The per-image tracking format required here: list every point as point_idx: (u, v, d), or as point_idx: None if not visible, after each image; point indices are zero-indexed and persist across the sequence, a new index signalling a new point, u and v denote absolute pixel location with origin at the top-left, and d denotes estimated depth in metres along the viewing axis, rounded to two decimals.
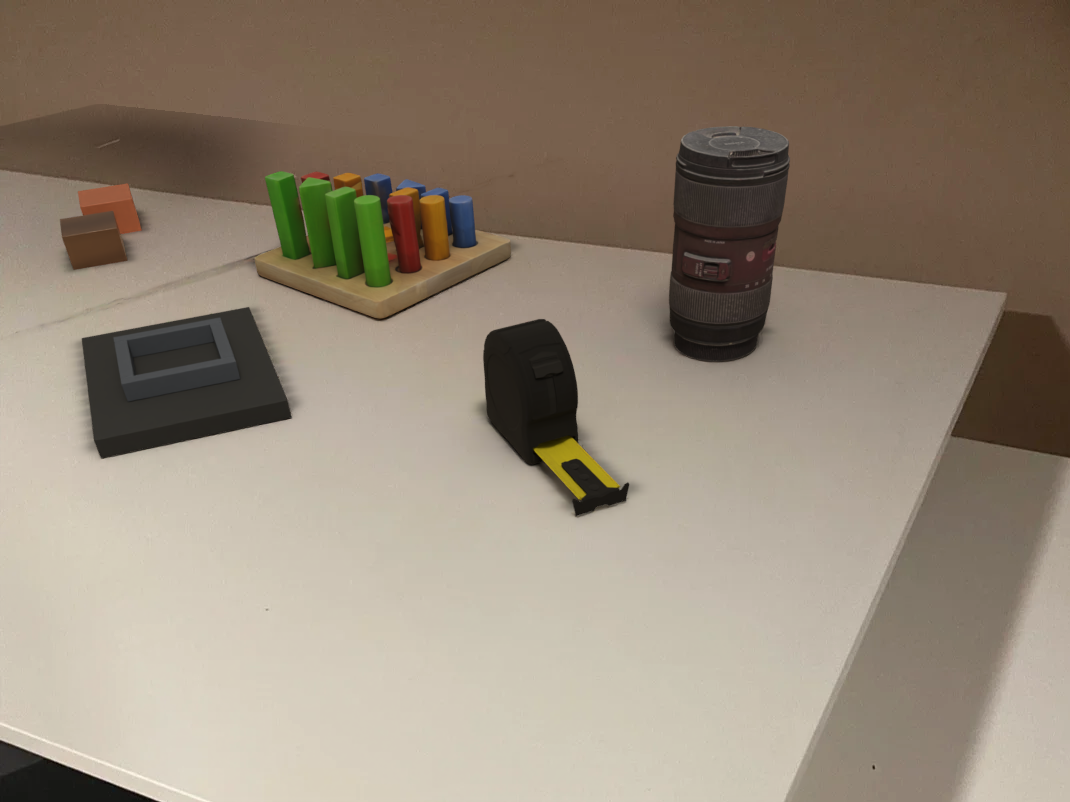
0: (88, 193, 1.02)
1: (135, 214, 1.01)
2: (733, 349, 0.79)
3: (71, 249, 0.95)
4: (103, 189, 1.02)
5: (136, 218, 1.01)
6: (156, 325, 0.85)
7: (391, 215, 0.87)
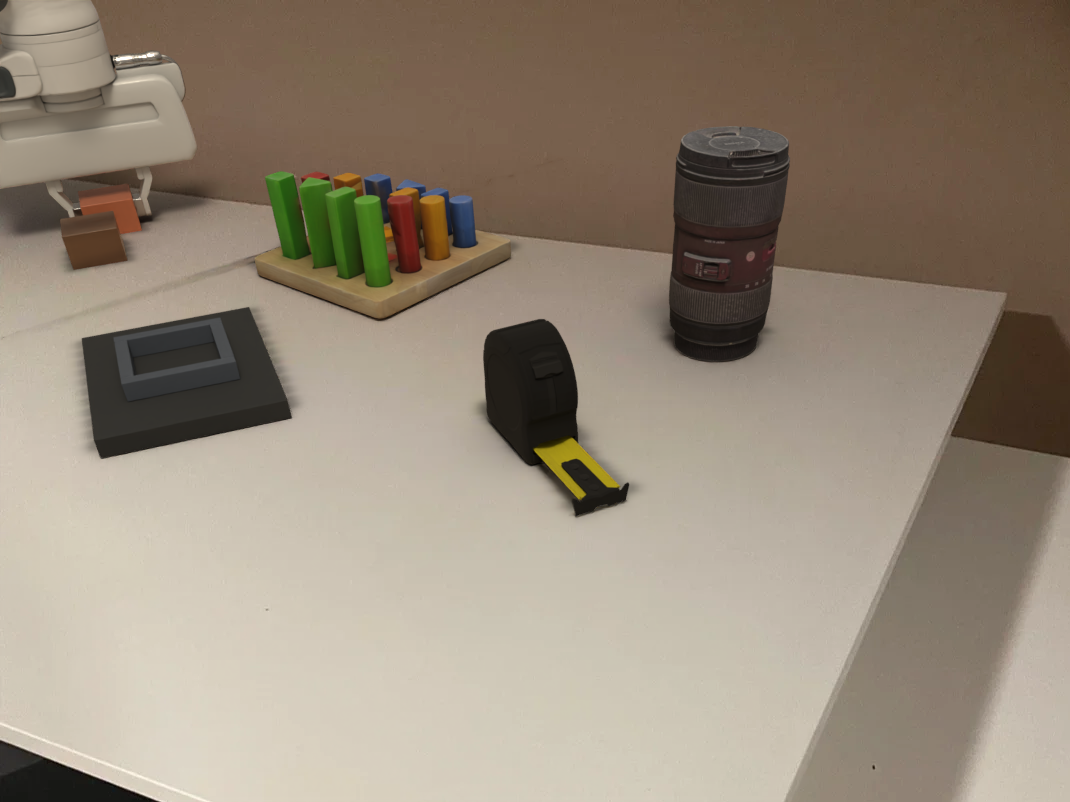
0: (88, 193, 1.02)
1: (135, 214, 1.01)
2: (733, 349, 0.79)
3: (71, 249, 0.95)
4: (103, 189, 1.02)
5: (136, 218, 1.01)
6: (156, 325, 0.85)
7: (391, 215, 0.87)
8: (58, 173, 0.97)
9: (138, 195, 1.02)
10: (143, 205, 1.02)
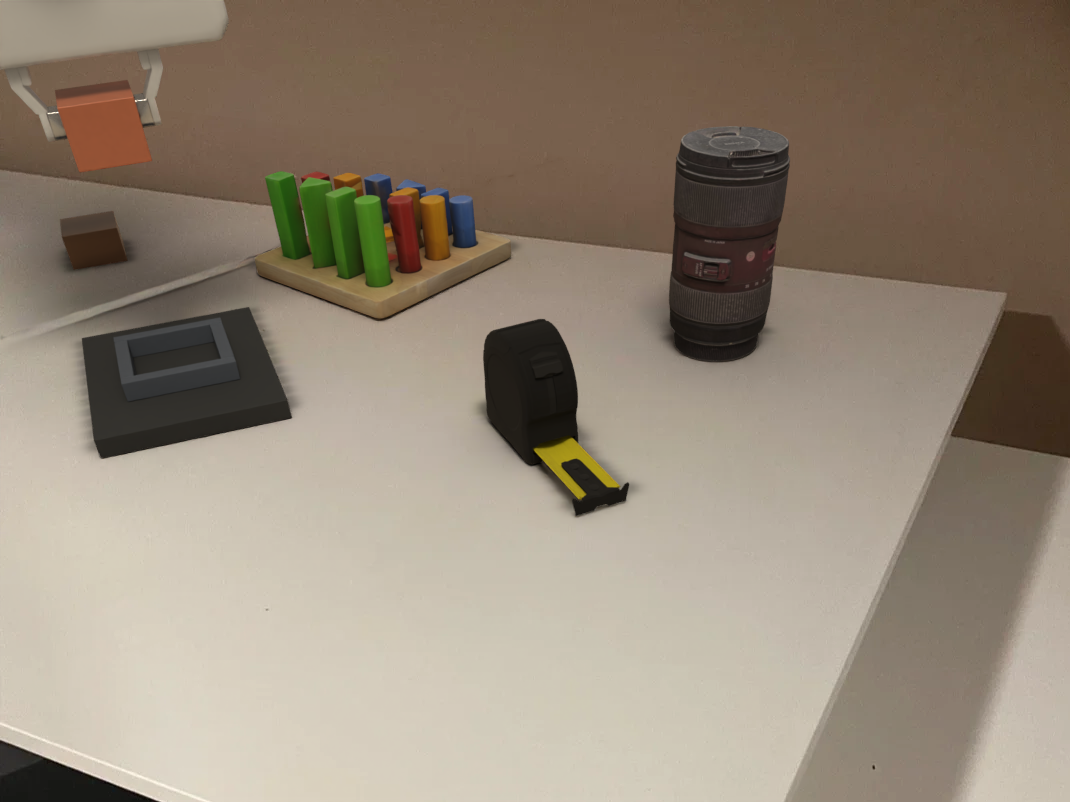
0: (69, 91, 0.70)
1: (138, 121, 0.69)
2: (733, 349, 0.79)
3: (71, 249, 0.95)
4: (92, 87, 0.70)
5: (140, 127, 0.70)
6: (156, 325, 0.85)
7: (391, 215, 0.87)
8: (24, 55, 0.65)
9: (142, 95, 0.71)
10: (150, 110, 0.70)
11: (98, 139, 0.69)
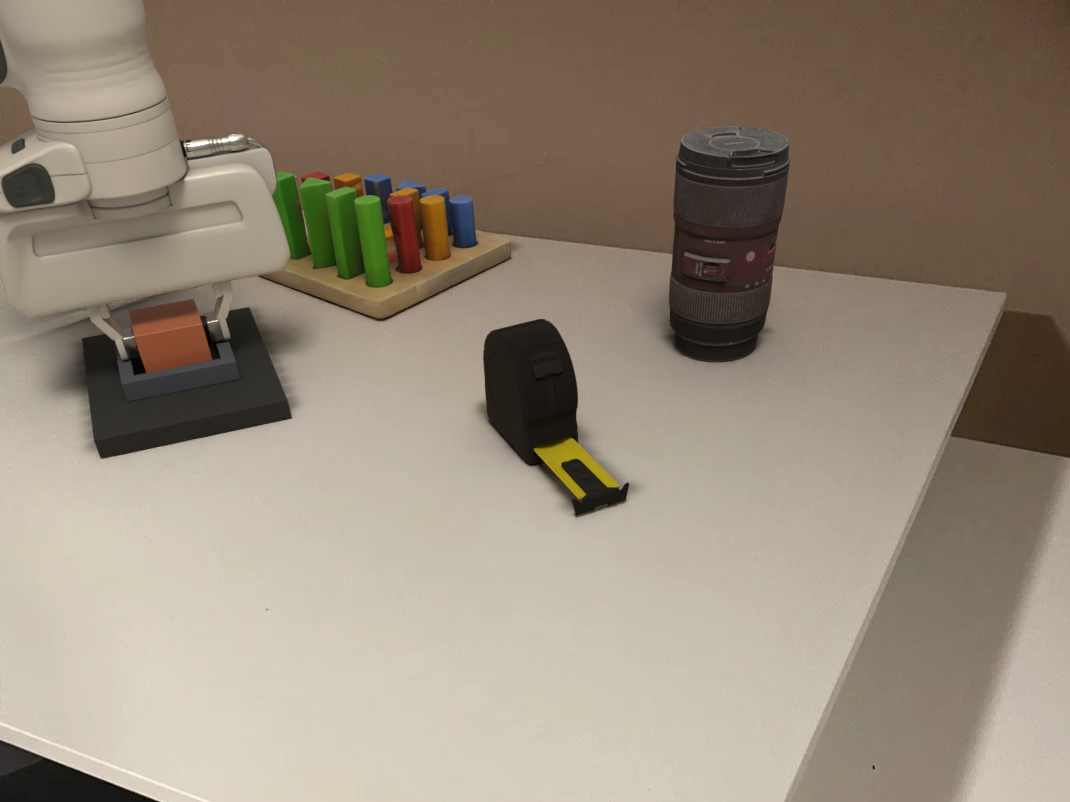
0: (143, 313, 0.77)
1: (205, 343, 0.77)
2: (733, 349, 0.79)
3: None
4: (162, 308, 0.78)
5: (206, 347, 0.77)
6: None
7: (391, 215, 0.87)
8: (109, 295, 0.73)
9: (214, 315, 0.78)
10: (220, 328, 0.78)
11: (169, 359, 0.76)
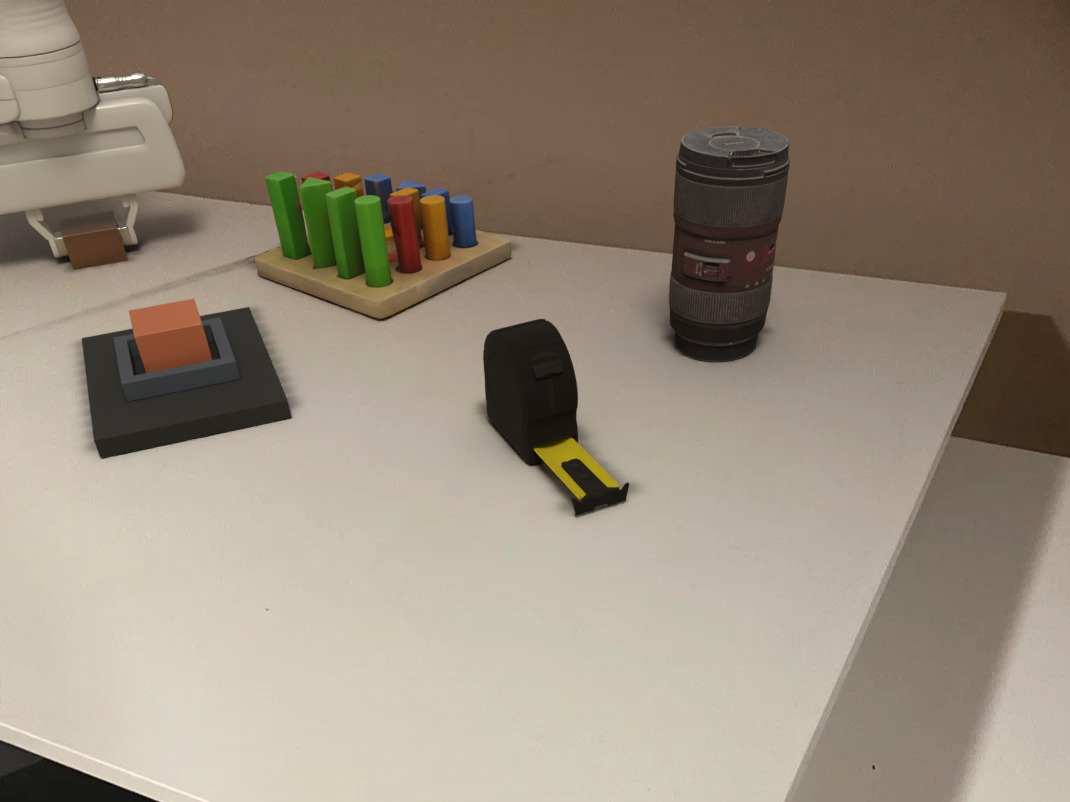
0: (143, 313, 0.77)
1: (205, 343, 0.77)
2: (733, 349, 0.79)
3: (71, 249, 0.95)
4: (162, 308, 0.78)
5: (206, 347, 0.77)
6: None
7: (392, 215, 0.87)
8: (38, 202, 0.92)
9: (124, 223, 0.97)
10: (129, 234, 0.97)
11: (169, 359, 0.76)
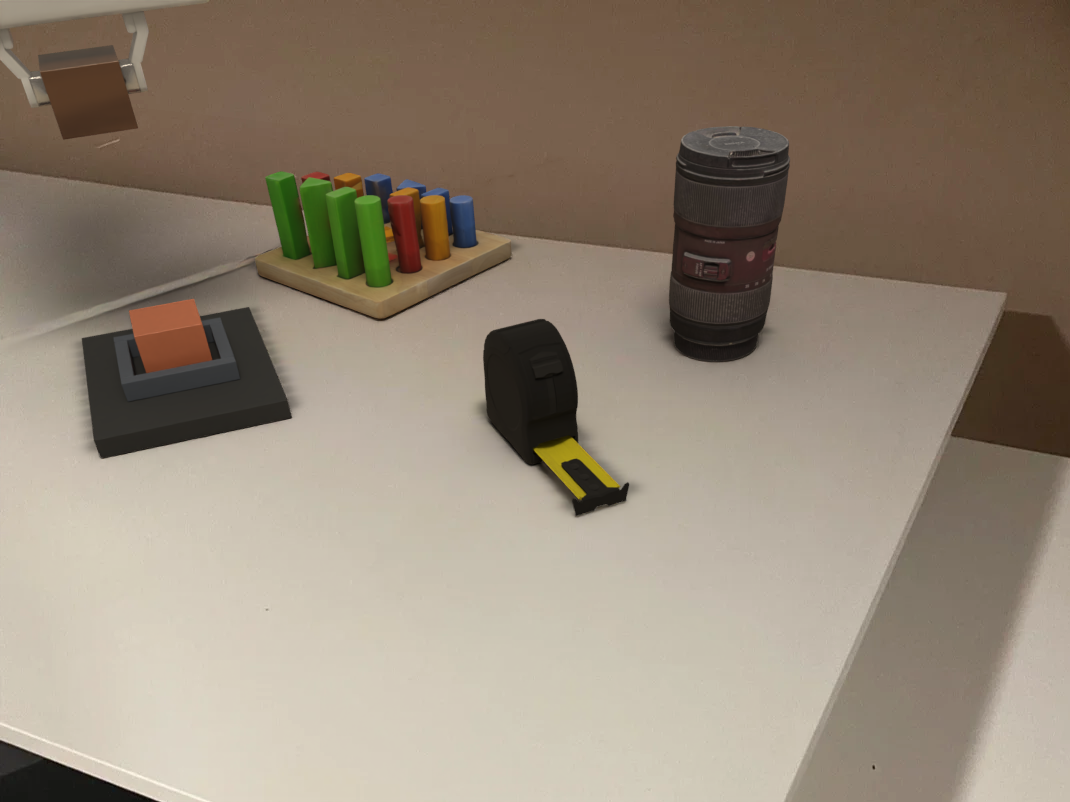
0: (143, 313, 0.77)
1: (205, 343, 0.77)
2: (733, 349, 0.79)
3: (54, 91, 0.66)
4: (162, 308, 0.78)
5: (206, 347, 0.77)
6: None
7: (392, 215, 0.87)
8: (4, 16, 0.64)
9: (128, 60, 0.69)
10: (135, 75, 0.69)
11: (169, 359, 0.76)
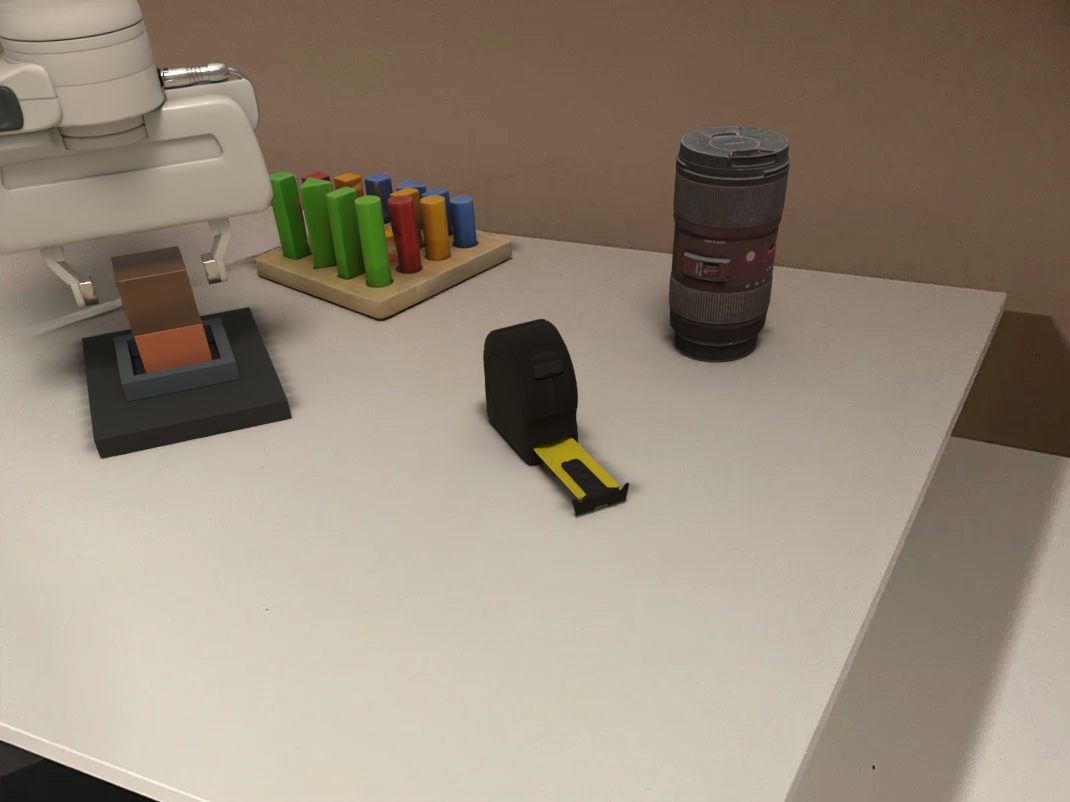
0: None
1: (205, 343, 0.77)
2: (733, 349, 0.79)
3: (127, 297, 0.73)
4: None
5: (206, 347, 0.77)
6: None
7: (392, 215, 0.87)
8: (82, 233, 0.70)
9: (210, 255, 0.75)
10: (217, 269, 0.75)
11: (169, 359, 0.76)
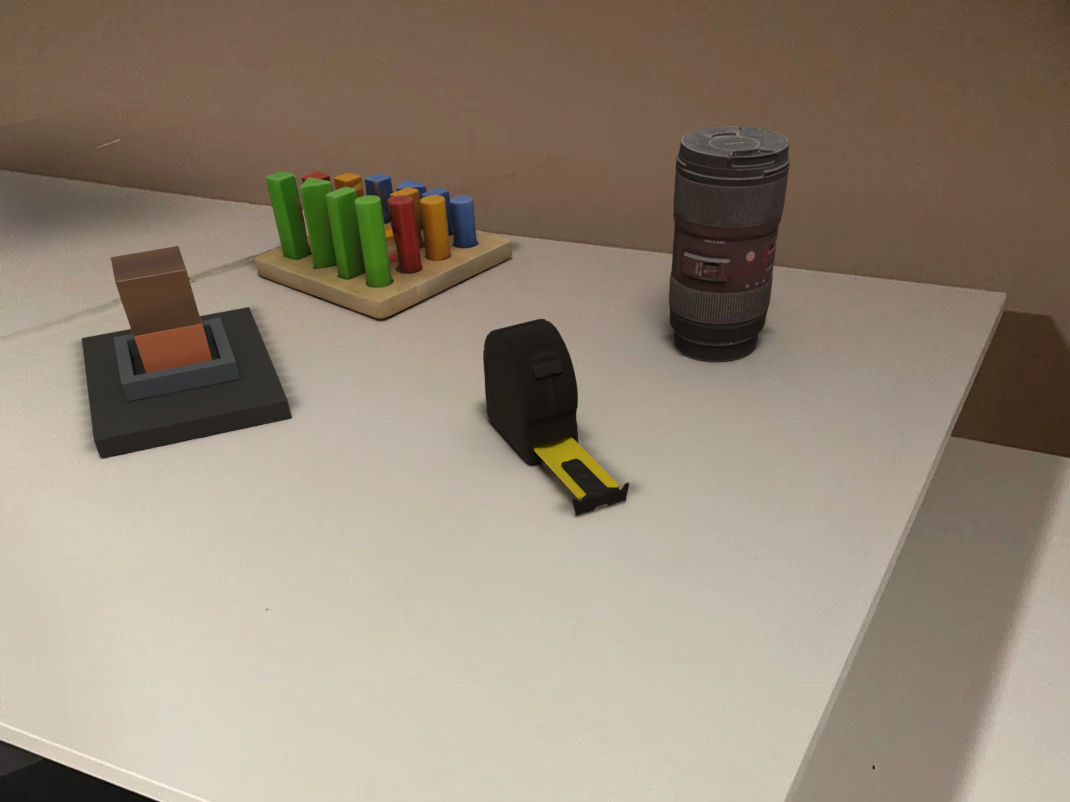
0: None
1: (205, 343, 0.77)
2: (733, 349, 0.79)
3: (127, 297, 0.73)
4: None
5: (206, 347, 0.77)
6: None
7: (392, 215, 0.87)
8: None
9: None
10: None
11: (169, 359, 0.76)
